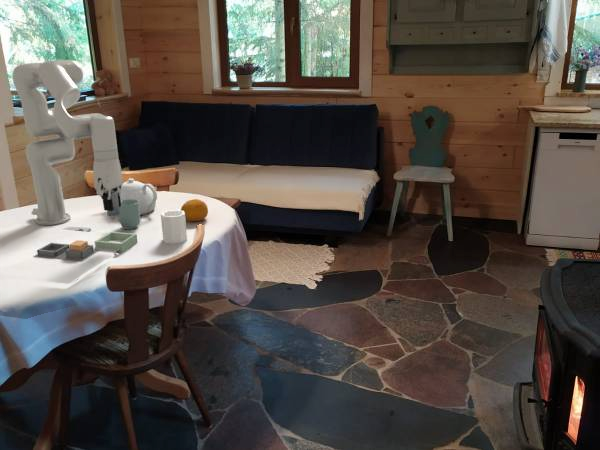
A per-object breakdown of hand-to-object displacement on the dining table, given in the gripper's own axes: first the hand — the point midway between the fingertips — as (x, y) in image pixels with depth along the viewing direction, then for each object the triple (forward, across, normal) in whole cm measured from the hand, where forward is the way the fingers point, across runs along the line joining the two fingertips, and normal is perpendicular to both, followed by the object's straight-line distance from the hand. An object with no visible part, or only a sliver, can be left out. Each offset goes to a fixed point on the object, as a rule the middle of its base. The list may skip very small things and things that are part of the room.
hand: (112, 207), depth 188 cm
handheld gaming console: (+15, -5, -23) cm, 28 cm away
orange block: (+11, +12, -6) cm, 18 cm away
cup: (+14, -19, -6) cm, 25 cm away
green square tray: (+14, 0, 0) cm, 14 cm away
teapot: (+14, -38, -15) cm, 43 cm away
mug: (+14, -13, +16) cm, 25 cm away
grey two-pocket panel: (+14, +12, -11) cm, 22 cm away
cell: (+2, 0, 0) cm, 2 cm away
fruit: (+14, -33, +14) cm, 39 cm away
